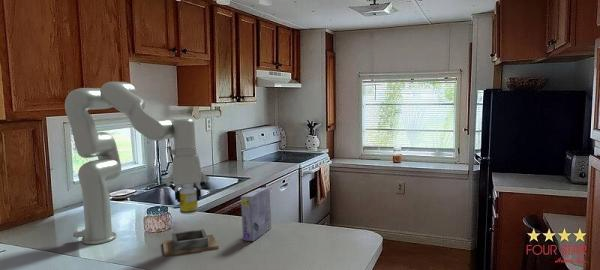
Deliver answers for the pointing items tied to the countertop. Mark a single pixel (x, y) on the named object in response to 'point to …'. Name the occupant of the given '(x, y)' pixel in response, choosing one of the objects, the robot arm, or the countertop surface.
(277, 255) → the countertop surface
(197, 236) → the collar board
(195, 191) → the pill bottle
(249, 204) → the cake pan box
